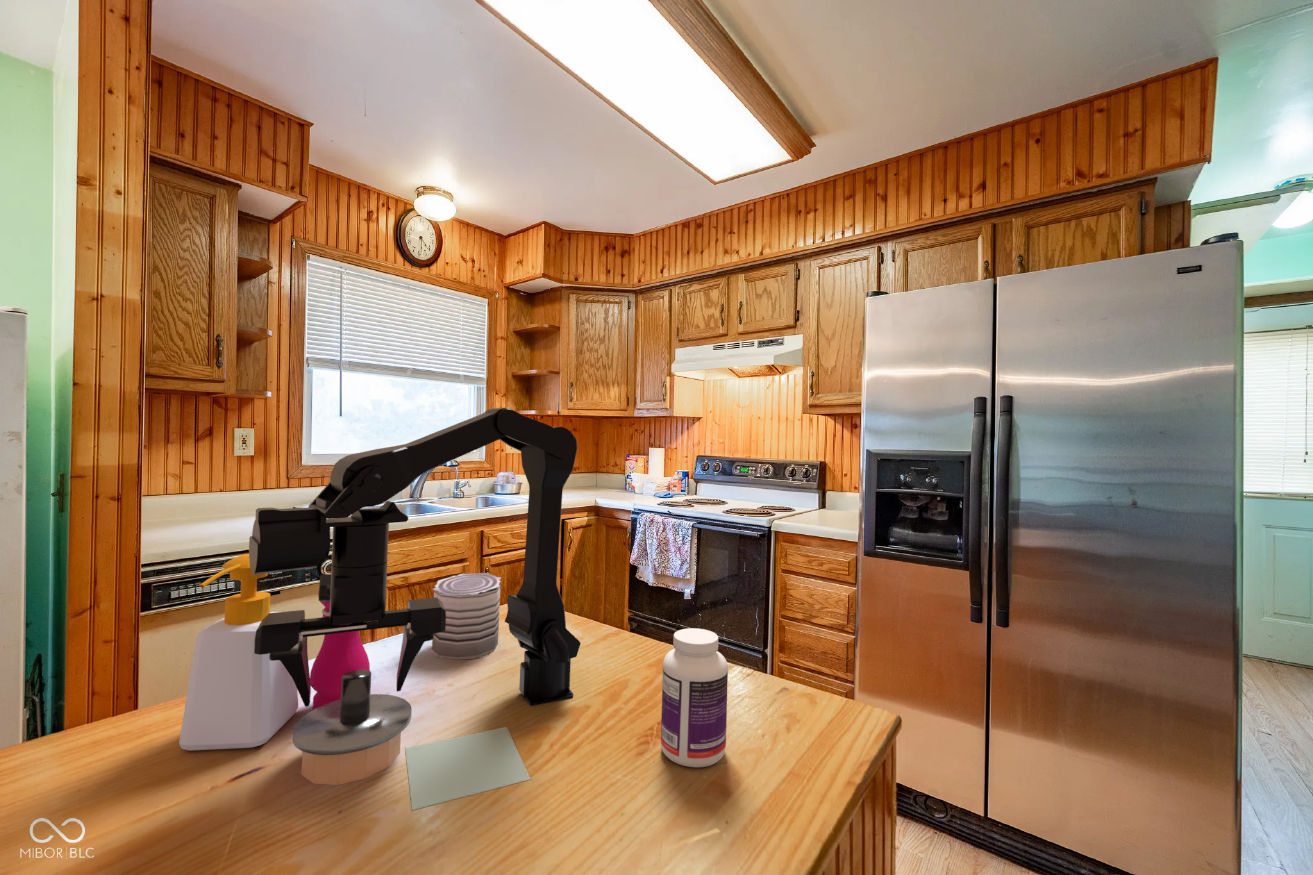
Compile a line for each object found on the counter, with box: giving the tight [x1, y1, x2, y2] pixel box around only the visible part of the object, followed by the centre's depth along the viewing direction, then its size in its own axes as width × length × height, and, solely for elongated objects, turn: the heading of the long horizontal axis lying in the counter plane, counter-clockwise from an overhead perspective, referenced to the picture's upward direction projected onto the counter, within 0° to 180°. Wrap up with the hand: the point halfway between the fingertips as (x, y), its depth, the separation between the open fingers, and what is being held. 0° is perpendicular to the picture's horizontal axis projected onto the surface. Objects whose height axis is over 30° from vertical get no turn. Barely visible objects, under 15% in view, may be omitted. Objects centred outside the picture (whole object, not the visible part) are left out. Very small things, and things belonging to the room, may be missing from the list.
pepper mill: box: [309, 592, 371, 710], centre depth 75 cm, size 7×7×20 cm
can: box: [431, 572, 502, 661], centre depth 97 cm, size 11×11×12 cm
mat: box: [404, 726, 531, 812], centre depth 63 cm, size 12×12×1 cm
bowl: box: [300, 732, 402, 786], centre depth 63 cm, size 10×10×4 cm
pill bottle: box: [660, 627, 729, 768], centre depth 67 cm, size 8×8×14 cm
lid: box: [292, 670, 413, 755], centre depth 63 cm, size 12×12×6 cm
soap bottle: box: [178, 553, 299, 751], centre depth 66 cm, size 10×14×22 cm
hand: (354, 697), depth 63 cm, fingers open, 9 cm apart
